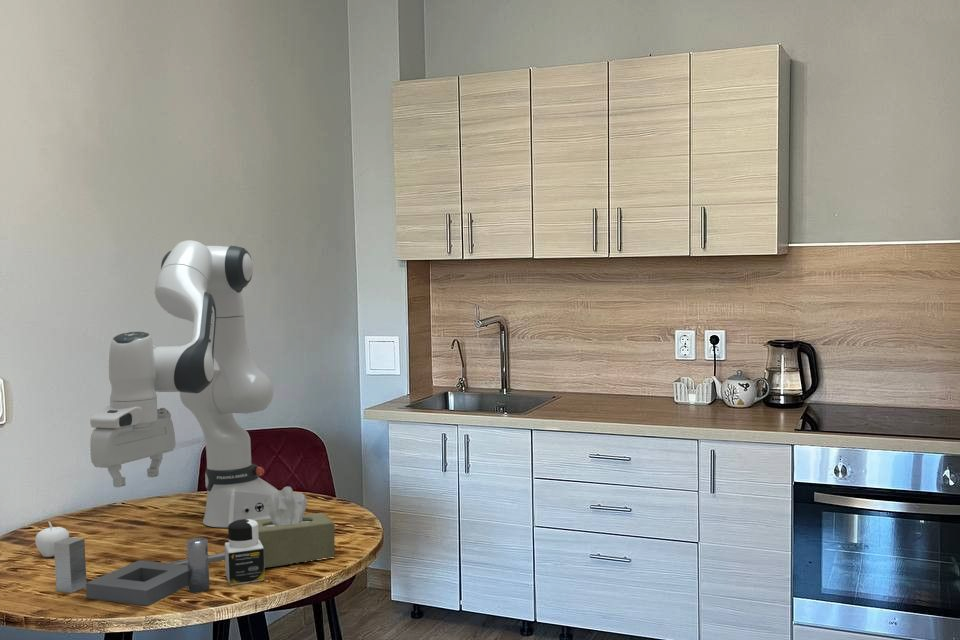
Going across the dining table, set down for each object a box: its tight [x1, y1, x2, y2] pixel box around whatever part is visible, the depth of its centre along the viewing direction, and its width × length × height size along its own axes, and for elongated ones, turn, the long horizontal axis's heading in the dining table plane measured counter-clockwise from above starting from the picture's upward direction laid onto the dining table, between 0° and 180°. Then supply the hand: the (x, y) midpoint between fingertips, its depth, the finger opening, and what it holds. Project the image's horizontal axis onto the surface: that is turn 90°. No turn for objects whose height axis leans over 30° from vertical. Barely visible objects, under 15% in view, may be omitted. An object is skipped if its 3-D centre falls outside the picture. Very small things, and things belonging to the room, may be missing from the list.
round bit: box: [186, 537, 210, 594], centre depth 182 cm, size 4×4×10 cm
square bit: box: [54, 536, 87, 594], centre depth 185 cm, size 4×4×10 cm
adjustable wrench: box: [167, 551, 225, 565], centre depth 202 cm, size 25×6×2 cm, turn 115°
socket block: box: [85, 559, 189, 607], centre depth 183 cm, size 15×15×3 cm
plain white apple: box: [34, 520, 70, 558], centre depth 208 cm, size 7×7×8 cm
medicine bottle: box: [224, 519, 266, 586], centre depth 188 cm, size 7×7×12 cm
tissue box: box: [254, 486, 336, 569], centre depth 200 cm, size 19×10×16 cm, turn 116°
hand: (136, 481), depth 182 cm, fingers open, 8 cm apart
